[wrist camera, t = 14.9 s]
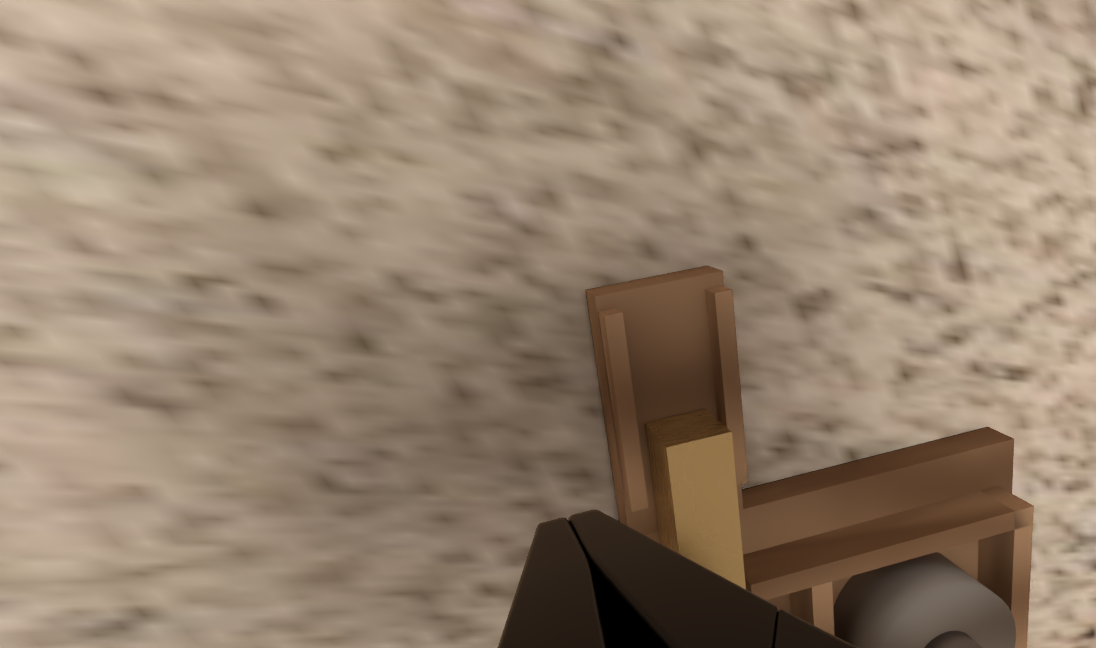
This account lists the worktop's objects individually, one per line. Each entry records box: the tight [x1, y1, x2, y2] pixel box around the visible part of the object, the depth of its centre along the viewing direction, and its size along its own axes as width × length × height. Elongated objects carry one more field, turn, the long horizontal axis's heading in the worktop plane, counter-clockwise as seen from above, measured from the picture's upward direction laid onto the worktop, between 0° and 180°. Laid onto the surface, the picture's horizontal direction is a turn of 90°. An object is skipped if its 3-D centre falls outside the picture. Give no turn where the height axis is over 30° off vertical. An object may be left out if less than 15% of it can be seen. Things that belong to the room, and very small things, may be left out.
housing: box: [586, 266, 1034, 648], centre depth 23 cm, size 22×19×4 cm
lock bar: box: [645, 409, 746, 589], centre depth 22 cm, size 6×2×2 cm, turn 9°
